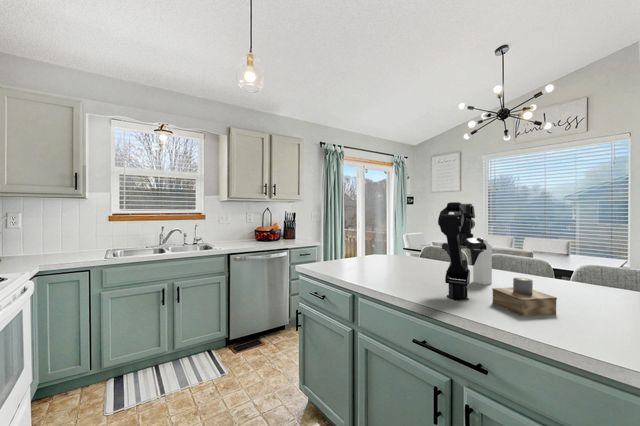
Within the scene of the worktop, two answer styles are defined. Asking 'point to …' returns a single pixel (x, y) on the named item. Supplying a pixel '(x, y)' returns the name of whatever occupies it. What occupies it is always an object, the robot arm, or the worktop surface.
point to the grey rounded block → (523, 286)
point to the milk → (483, 266)
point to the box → (524, 305)
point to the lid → (534, 297)
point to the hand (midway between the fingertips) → (463, 265)
